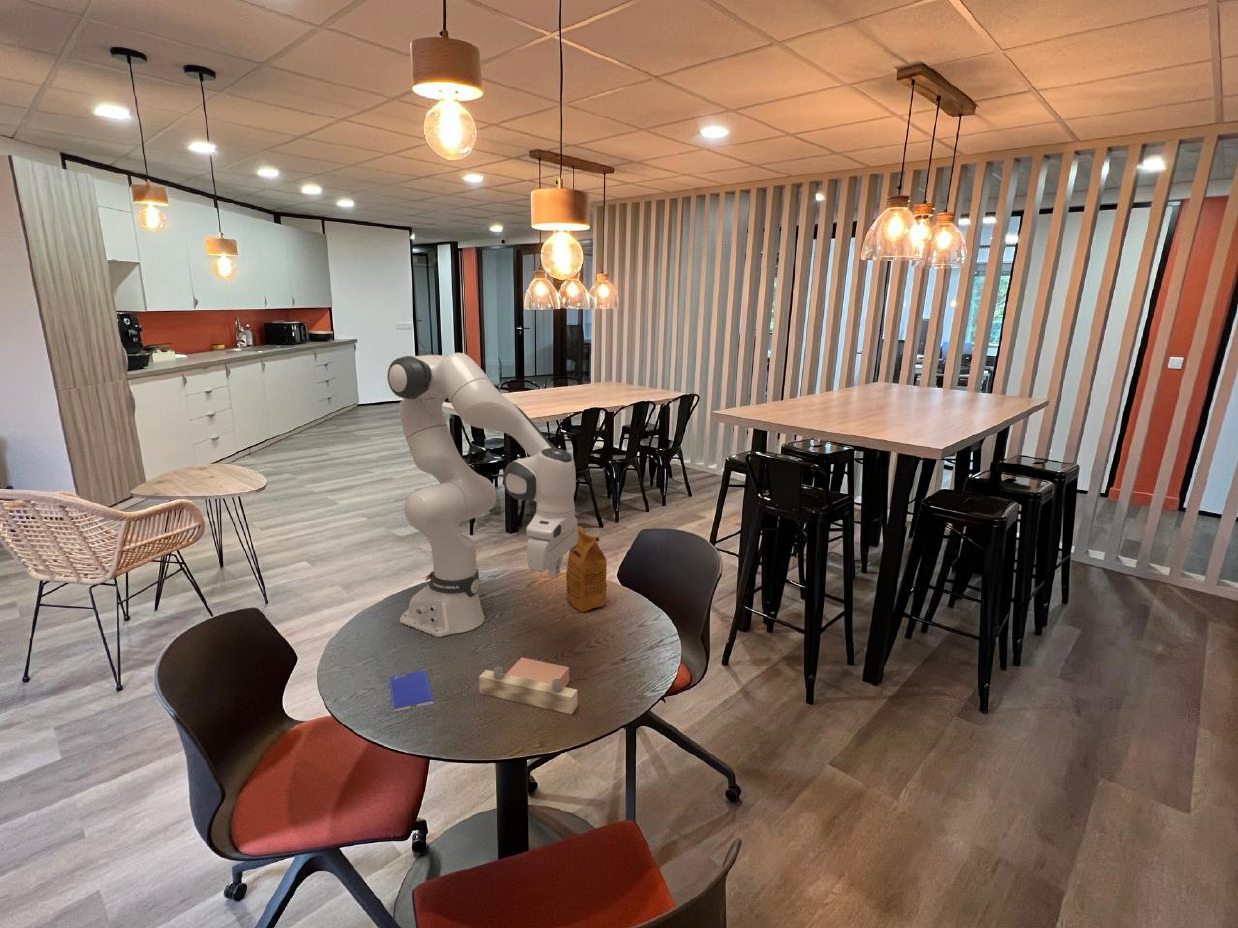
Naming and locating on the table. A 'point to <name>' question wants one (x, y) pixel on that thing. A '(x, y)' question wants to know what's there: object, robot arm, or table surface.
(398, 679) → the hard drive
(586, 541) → the coffee package
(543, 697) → the stop bar
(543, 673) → the terracotta block
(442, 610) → the robot arm
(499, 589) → the table surface
